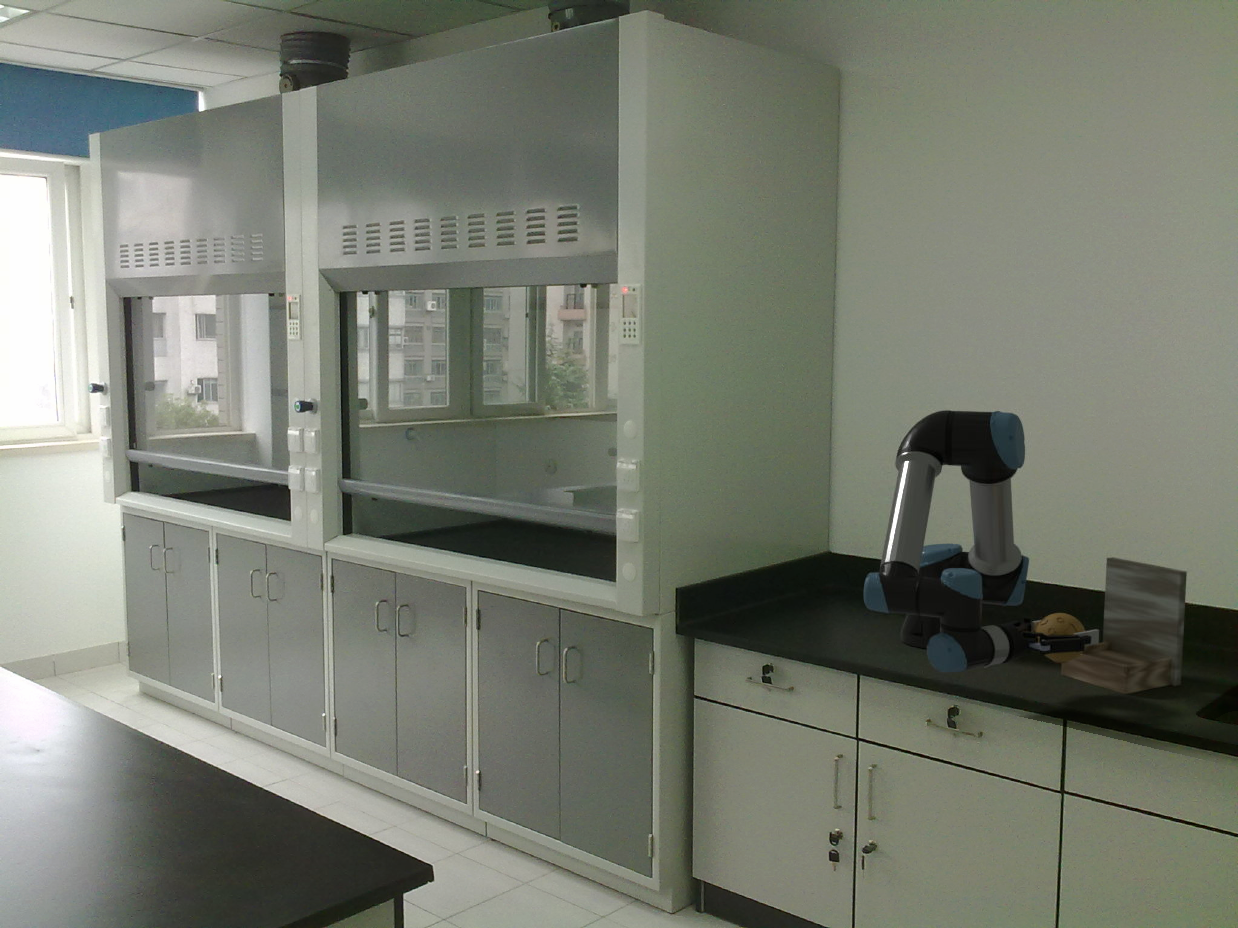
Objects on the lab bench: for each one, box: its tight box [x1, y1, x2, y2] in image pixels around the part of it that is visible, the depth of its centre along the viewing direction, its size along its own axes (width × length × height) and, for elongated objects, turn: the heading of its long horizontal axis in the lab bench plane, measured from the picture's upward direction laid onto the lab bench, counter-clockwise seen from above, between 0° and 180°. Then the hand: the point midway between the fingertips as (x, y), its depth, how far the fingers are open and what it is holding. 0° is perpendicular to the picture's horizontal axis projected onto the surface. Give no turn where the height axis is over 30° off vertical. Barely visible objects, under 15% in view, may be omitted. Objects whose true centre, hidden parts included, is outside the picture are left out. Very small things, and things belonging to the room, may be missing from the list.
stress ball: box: [1034, 612, 1086, 664], centre depth 236 cm, size 10×10×10 cm
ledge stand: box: [1060, 556, 1188, 695], centre depth 245 cm, size 16×18×24 cm
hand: (1075, 630), depth 238 cm, fingers closed on stress ball, 10 cm apart
